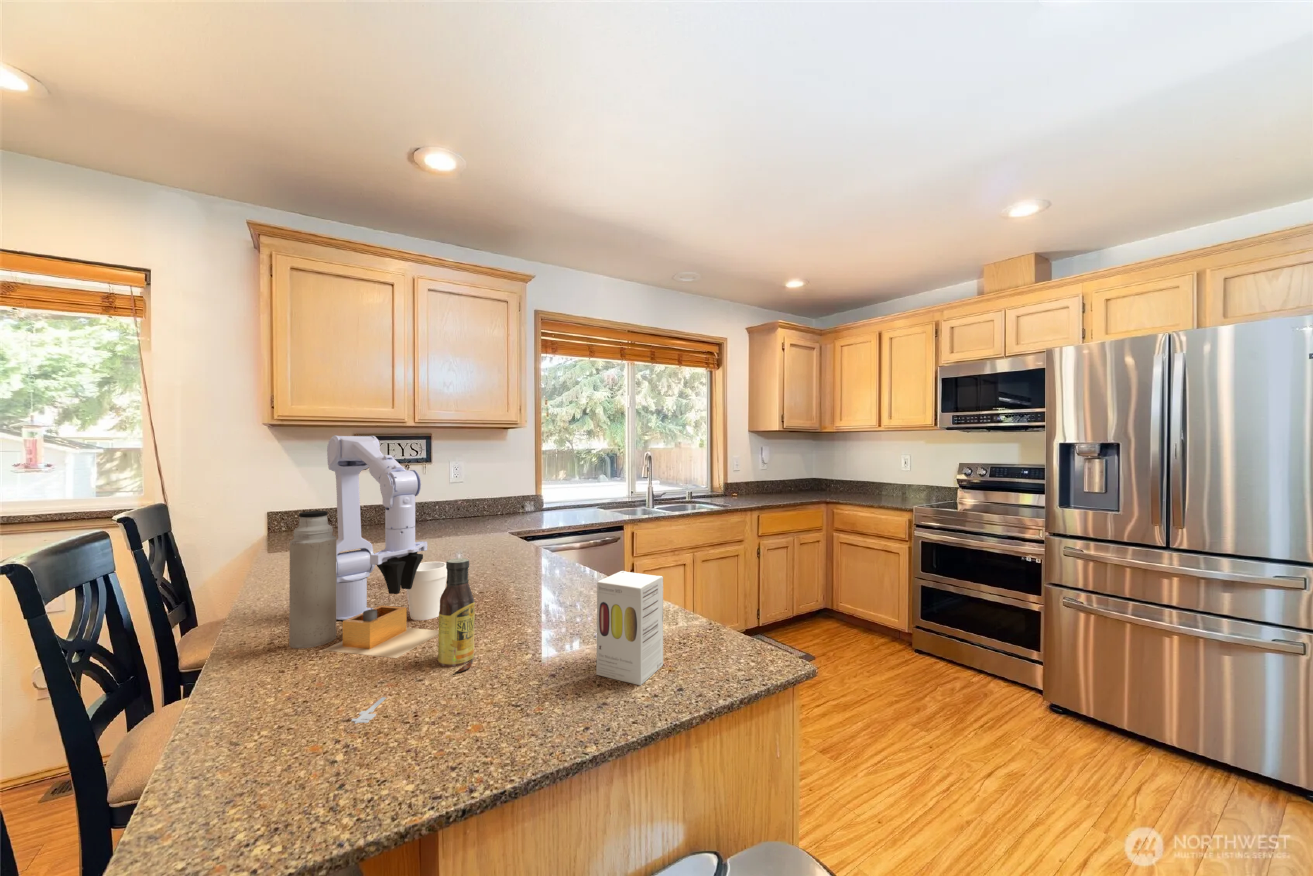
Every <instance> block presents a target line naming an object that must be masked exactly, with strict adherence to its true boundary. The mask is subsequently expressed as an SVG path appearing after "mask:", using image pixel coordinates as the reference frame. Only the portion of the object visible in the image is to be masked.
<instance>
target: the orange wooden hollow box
mask: <svg viewBox="0 0 1313 876" xmlns="http://www.w3.org/2000/svg"><path fill="white" fill-rule="evenodd" d="M373 608H374V609H376V610H377V618H376V619H374V620H372V621H363V613H361V614H359V615H356V616H354V617H351V618H349V619H347V620H342V641H343V646H345V647H354V648H364V649H371V648H373V647H375V646H377V645H379V644H381V643H383V642H385V641H387V640H389V639H391V638H393V637H395V636H397V635H399V634H401V633H403V632H405V631H406V628H408V626H407V617H408V616H407V612H408V611H407V607H403V606H392V605H379V606H376V607H373Z"/></svg>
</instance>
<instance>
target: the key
mask: <svg viewBox="0 0 1313 876" xmlns="http://www.w3.org/2000/svg"><path fill="white" fill-rule="evenodd" d="M386 699H387V697H381V698H380V699H378V700H377V701H376V702H374V704H373V705H371V706H370V707H369V708H367V710H362V711H360V712H359V713H358V715H359V716H358V717H357V718H352V719H351V722H354V724H355V725H356V724H361V723H365V724H366V723H367V724H368V723H369V722H370V721H372V720H373V718H375V717H376V716H377V714H376V713H373V712H374V711H375V709H376V708H377V707H379V705H381V704H382V703H383V702H384V701H385V700H386Z"/></svg>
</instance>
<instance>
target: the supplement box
mask: <svg viewBox="0 0 1313 876" xmlns="http://www.w3.org/2000/svg"><path fill="white" fill-rule="evenodd" d="M662 666H664V576H662V575H654V574H648V573H647V574H646V573H638V572H630V571H626V570H621V571H618V572H615V573H613V574H611V575H609V576H607V577H605V578H602V579H600V580H598V581H597V582H596V665H595V667H596V668H595V671H596V673H595V674H596V675H597V676H602V677H603V678H609V679H611V680H612V679H613V680H617V681H621V682H624V683H625V682H626V683H629V684H634V685H638V686H642V685H643V684H644V683H645V682H646V681H647V680H649V678H651V676H653V675H654V674H655V673H656V672H658V670H660V669H661V667H662Z"/></svg>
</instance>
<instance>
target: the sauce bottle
mask: <svg viewBox="0 0 1313 876" xmlns="http://www.w3.org/2000/svg"><path fill="white" fill-rule="evenodd" d="M445 563H446V568H447V579H446V587H445V590H444V591H443V593H442V595H441V598H440V611H439V616H438V631H439V635H438V638H437V639H438V643H437V644H438V645H437V648H438V649H437V662H438V663H439V665H440V666H441V667H446V668H455V667H460V666H462V667H460V668H459V669H458V670H456V671H455V672H454V673H460V672H461V673H462V672H464V671H466V670H468V669H470V668H471V667H472V666H473V663H474V656H475V621H476V620H475V615H476V612H475V610H476V603H475V599H474V595H473V592H472V590H471V587H470V583H469V582H470V581H469V567H470V559H468V558H463V557H462V558H452V559H448V560H446V562H445Z"/></svg>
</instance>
